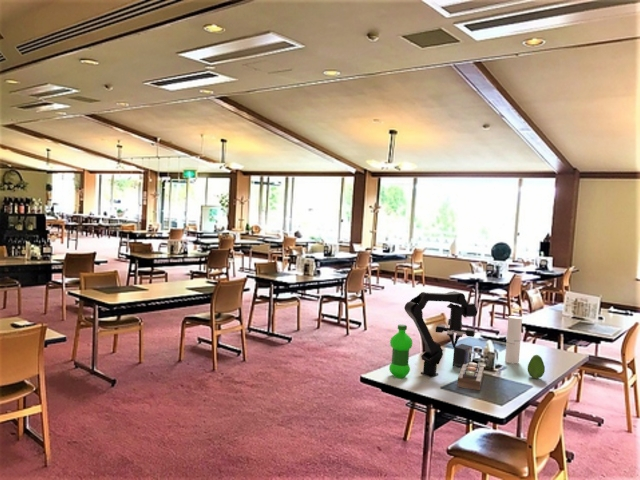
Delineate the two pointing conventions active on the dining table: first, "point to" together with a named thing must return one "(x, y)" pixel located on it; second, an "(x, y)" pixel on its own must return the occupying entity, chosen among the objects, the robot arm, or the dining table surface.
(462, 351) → the small box
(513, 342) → the cylindrical container
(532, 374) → the avocado
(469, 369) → the button terracotta
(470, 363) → the button cream
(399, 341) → the plastic bottle
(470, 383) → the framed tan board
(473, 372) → the button sage
